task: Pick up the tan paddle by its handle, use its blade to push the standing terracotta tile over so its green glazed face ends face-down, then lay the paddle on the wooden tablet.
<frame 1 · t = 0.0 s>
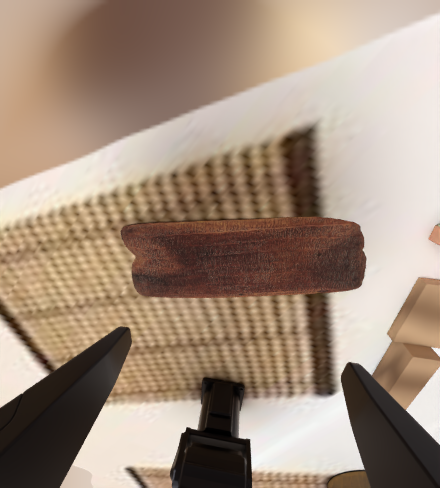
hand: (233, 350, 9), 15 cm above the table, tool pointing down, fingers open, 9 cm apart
wooden container: (367, 486, 41), on the table
wooden tablet: (238, 257, 25), on the table
tan paddle: (405, 342, 26), on the table
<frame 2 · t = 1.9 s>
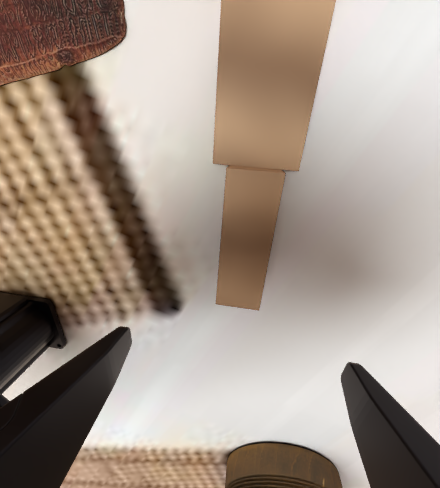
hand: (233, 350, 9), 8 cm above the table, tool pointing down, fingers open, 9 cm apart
wooden container: (280, 467, 30), on the table
tan paddle: (252, 181, 14), on the table
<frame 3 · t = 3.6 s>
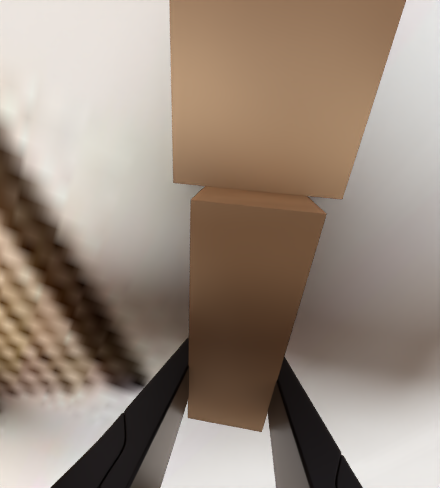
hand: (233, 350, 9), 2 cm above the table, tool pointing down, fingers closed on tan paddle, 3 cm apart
tan paddle: (250, 211, 8), on the table, touching gripper
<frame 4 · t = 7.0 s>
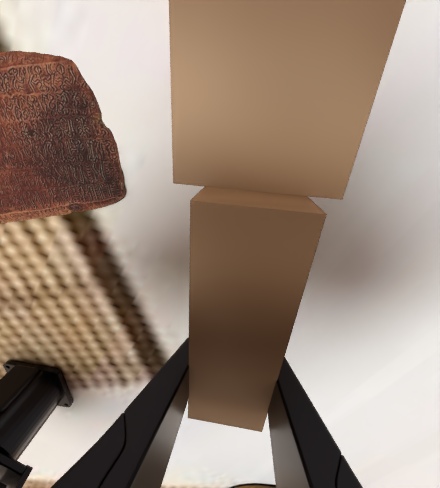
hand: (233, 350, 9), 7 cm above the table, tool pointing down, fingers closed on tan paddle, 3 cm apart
tan paddle: (250, 212, 8), point 6 cm above the table, touching gripper
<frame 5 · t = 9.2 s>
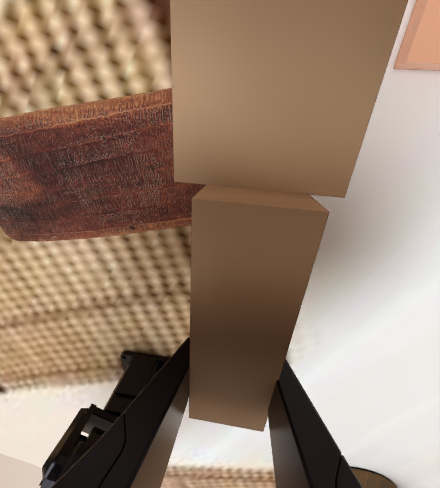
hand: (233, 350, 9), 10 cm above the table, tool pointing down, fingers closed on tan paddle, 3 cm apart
wooden container: (344, 485, 34), on the table
wooden tablet: (123, 174, 18), on the table
tan paddle: (251, 210, 8), point 9 cm above the table, touching gripper
when the fingers open (5 cm above the table, at t = 11.3 s): tan paddle drops 3 cm, resting on wooden tablet.
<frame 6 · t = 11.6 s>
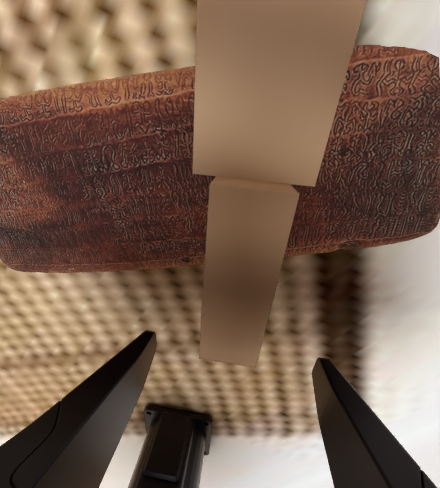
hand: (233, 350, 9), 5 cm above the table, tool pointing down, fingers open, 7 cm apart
wooden tablet: (177, 185, 12), on the table, touching tan paddle
tan paddle: (248, 197, 10), point 1 cm above the table, touching wooden tablet
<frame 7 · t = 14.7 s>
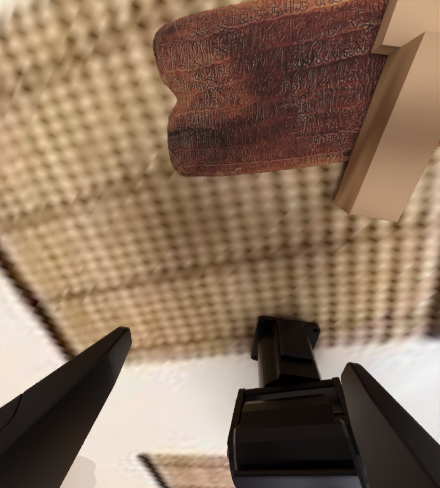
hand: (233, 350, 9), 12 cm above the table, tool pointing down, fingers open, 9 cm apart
wooden tablet: (345, 88, 15), on the table, touching tan paddle
tan paddle: (405, 79, 13), point 1 cm above the table, touching wooden tablet
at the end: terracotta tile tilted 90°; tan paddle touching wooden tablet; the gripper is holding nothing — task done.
